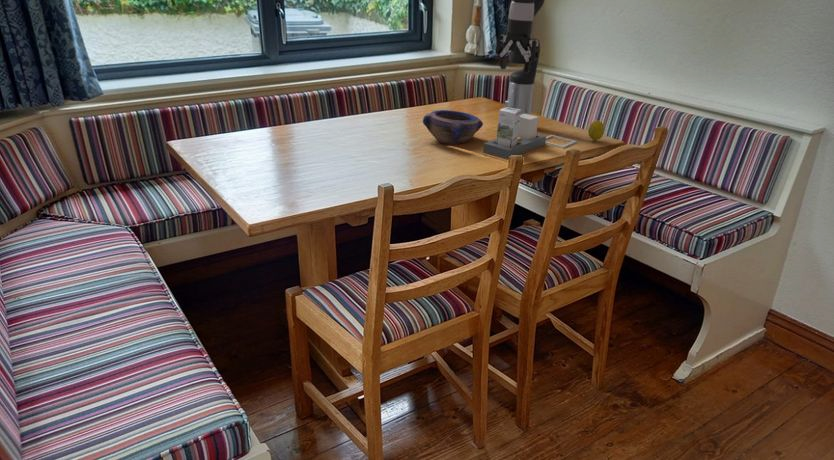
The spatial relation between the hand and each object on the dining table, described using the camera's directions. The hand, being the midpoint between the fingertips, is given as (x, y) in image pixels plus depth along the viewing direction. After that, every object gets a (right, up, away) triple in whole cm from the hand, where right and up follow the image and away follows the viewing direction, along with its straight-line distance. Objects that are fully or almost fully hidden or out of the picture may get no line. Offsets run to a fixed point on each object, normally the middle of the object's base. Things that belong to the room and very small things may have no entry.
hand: (514, 71), depth 195 cm
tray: (+19, -20, +25) cm, 37 cm away
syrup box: (-1, -24, +12) cm, 27 cm away
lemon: (+34, -18, +32) cm, 50 cm away
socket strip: (+3, -23, +16) cm, 28 cm away
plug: (+6, -20, +20) cm, 29 cm away
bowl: (-19, -19, +23) cm, 35 cm away
